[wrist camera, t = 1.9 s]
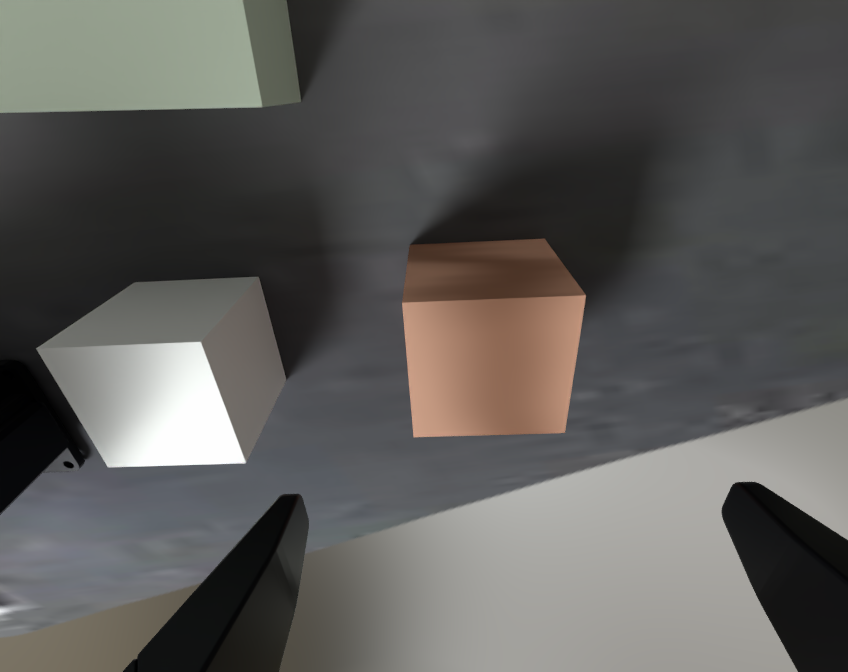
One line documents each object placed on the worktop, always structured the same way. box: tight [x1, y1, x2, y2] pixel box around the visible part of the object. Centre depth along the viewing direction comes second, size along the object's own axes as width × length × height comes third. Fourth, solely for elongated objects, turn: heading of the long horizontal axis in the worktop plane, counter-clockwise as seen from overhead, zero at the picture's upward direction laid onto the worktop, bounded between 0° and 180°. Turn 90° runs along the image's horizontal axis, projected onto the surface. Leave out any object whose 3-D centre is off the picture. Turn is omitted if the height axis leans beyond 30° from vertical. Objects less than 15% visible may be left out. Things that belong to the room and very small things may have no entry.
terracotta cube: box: [402, 239, 586, 437], centre depth 15 cm, size 5×5×5 cm
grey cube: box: [36, 277, 286, 467], centre depth 16 cm, size 5×5×5 cm
